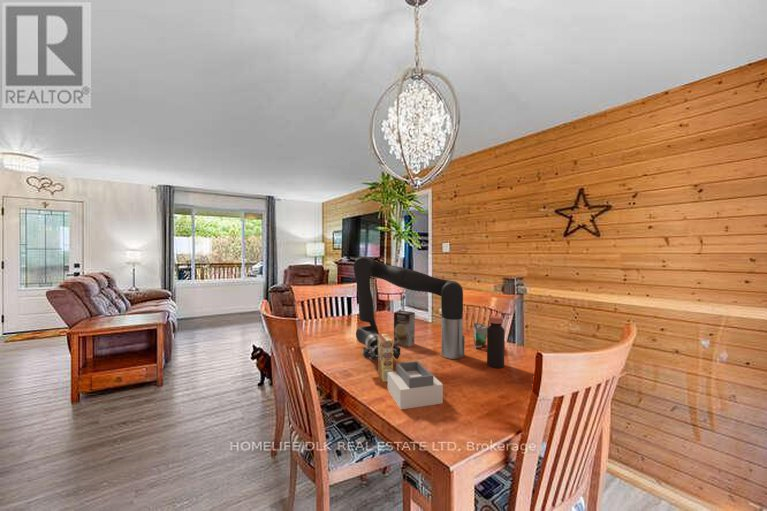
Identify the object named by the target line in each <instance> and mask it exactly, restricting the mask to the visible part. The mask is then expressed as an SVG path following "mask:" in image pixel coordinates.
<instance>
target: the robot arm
mask: <svg viewBox="0 0 767 511" xmlns="http://www.w3.org/2000/svg"><path fill="white" fill-rule="evenodd" d="M352 267H353V272H354V277H355V282H356V288H357V290H356V291H357V298H358V318H359V321H360V322H364V323H368V324H369V325H366V326H365V325H364V326H360V327H358V328H357V329H356V331H355V337H356V339H357V341H358V342H359V343H360V344H362V345H364V346H363V347H362V354H363V357H364V359H368V358H369V359H370V360H371V361H373V362H377V358H378V334H380V332H379V329H378V326H377V324H376V319H375V310H374V309H375V306H374V298H373V295H372V290H371V278H377V279H380V280H384V281H386V282H388V283H389V284H391V285H393V286H396V287H400V288H401V289H406V290H409V291H414V292H423V293H429V294H434V295H437V296H440V298H441V300H440V301H441V306H440V307H441V308H440V309H441V310H440V311H441V350H440V351H441V356H442V357H443V358H445V359H451V360H458V359H462V358H463V357H465V346H466V345H465V343H466V342H465V339H466V338H465V334H464V333H463V330H464V327H463V326H464V324H463V323H464V322H463V320H464V317H463V316H464V290H463V287H462V285H461V284H460V283H459V282H457V281H455V280H450V279H443V278H438V277H433V276H431V275H429V274H426V273H423V272H420V271H417V270H413V269H410V268H406V267H402V266H398V265H397V266H396V265H390V264H386V263H383V262H381V261H378V260H375V259H373V258H370V257H365V256H361V257H358V258H357V259H356V260H355V261H354V263H353V266H352ZM365 346H366V347H365ZM400 356H401V348H400V347H399V345H397V344H394V343H393V358H394V359H395V360H398V359H399V358H400Z"/></svg>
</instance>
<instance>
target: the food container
mask: <svg viewBox="0 0 767 511" xmlns="http://www.w3.org/2000/svg"><path fill="white" fill-rule="evenodd" d="M487 328H488V326H487V325H485V324H483V323H478V322H474V323H473V343H474V349H475V348H476V349H475V350H483V349H485V348H486V347H487ZM482 348H483V349H482Z"/></svg>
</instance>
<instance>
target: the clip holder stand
mask: <svg viewBox="0 0 767 511" xmlns="http://www.w3.org/2000/svg"><path fill="white" fill-rule="evenodd" d="M443 389H444V384H443V383H442V382H441V381H440V380H439V379H438V378H437V377H436V376H435V375H433V374H432V372H430V371H429V370H428V369H427V367H425V366H424V365H423V364H422V363H421V362H419V361H418V360H412V361H405V362H397V363H395V370H393V372H388V382H387V391H388V392H389V394H390V395H391V397H392V399H393V401H395V403H396V404H397V406H398V408H399V410H400V411H401V410H406V409H414V408H415V409H416V408H420V407H427V406H435V405H440V404H443V403H444V398H443V397H444V396H443V395H444V390H443Z"/></svg>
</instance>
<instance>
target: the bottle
mask: <svg viewBox="0 0 767 511" xmlns="http://www.w3.org/2000/svg"><path fill="white" fill-rule="evenodd" d="M502 325H503V317H502V316H499V315H490V316H489V326H487V334H486V365H487V366H488V367H491V368H494V369H500V368H504V366H505V339H506V338H505V337H506V336H505V333H506V332H505V328H504V327H503V326H502Z"/></svg>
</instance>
